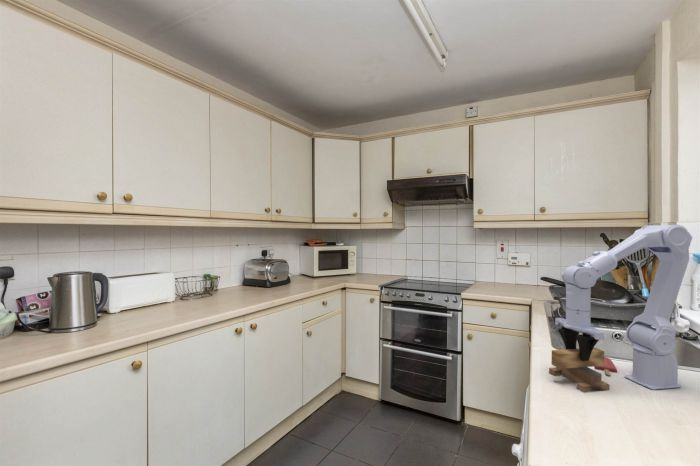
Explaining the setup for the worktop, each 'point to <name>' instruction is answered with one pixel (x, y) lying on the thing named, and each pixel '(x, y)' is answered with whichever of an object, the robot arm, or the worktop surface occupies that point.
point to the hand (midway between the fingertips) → (577, 357)
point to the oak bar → (576, 358)
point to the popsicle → (607, 366)
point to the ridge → (582, 378)
